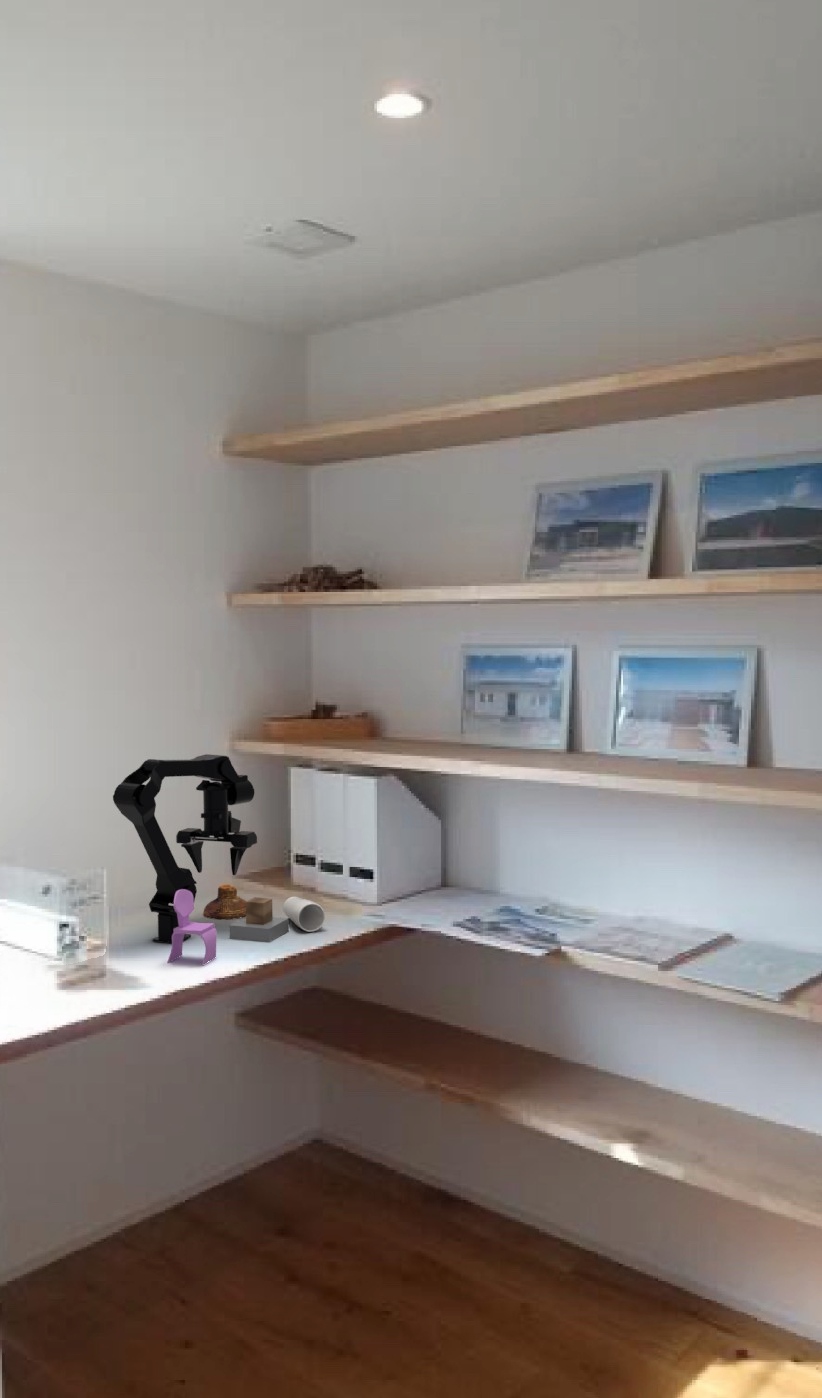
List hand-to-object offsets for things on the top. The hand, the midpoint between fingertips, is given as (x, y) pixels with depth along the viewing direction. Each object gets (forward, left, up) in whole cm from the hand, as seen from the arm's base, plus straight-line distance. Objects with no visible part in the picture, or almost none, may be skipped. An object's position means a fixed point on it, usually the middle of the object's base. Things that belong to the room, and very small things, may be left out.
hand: (217, 873), depth 276 cm
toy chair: (-27, -9, -13) cm, 31 cm away
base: (-4, -13, -12) cm, 18 cm away
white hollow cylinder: (+13, -14, -10) cm, 21 cm away
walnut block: (-4, -13, -10) cm, 17 cm away
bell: (+11, +4, -13) cm, 18 cm away
